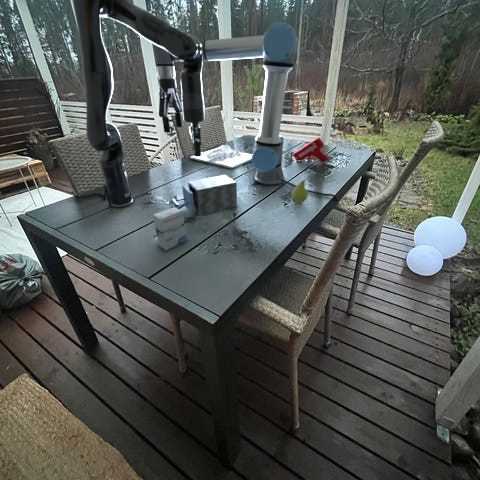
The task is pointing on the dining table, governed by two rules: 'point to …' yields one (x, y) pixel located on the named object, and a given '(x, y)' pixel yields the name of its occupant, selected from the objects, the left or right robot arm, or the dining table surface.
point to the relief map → (225, 156)
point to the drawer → (188, 199)
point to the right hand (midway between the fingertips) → (173, 129)
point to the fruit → (300, 192)
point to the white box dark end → (215, 194)
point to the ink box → (170, 228)
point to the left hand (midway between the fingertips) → (196, 153)
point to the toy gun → (311, 151)
